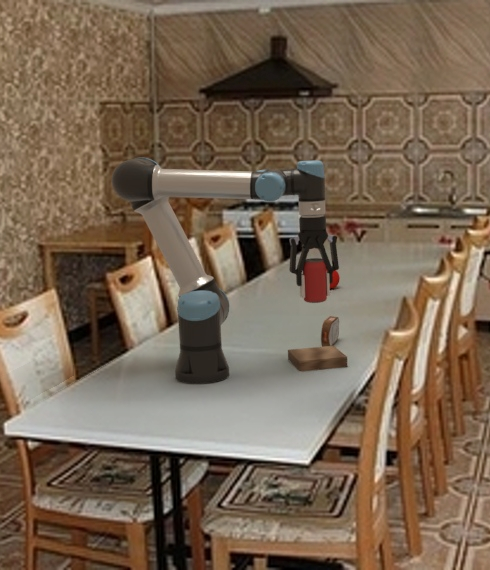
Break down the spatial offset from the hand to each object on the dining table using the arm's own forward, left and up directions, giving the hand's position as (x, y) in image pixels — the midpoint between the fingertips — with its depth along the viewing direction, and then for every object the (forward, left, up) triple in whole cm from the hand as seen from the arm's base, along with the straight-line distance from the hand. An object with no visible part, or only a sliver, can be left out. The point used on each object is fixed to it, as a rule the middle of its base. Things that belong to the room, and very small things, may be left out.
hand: (315, 295), depth 273 cm
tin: (+10, +21, -20) cm, 31 cm away
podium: (0, 0, -20) cm, 20 cm away
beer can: (0, 0, -2) cm, 2 cm away
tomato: (+34, +115, -20) cm, 122 cm away
